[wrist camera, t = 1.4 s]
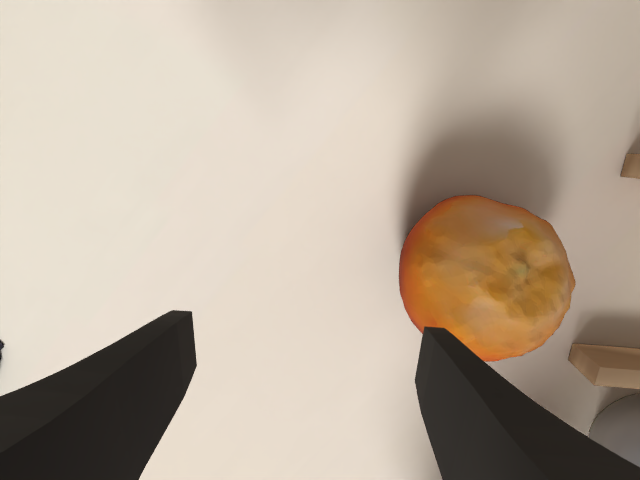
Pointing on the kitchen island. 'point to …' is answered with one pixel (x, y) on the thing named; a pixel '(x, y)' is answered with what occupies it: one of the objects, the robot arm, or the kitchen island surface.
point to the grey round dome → (620, 428)
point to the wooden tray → (609, 361)
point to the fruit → (486, 276)
